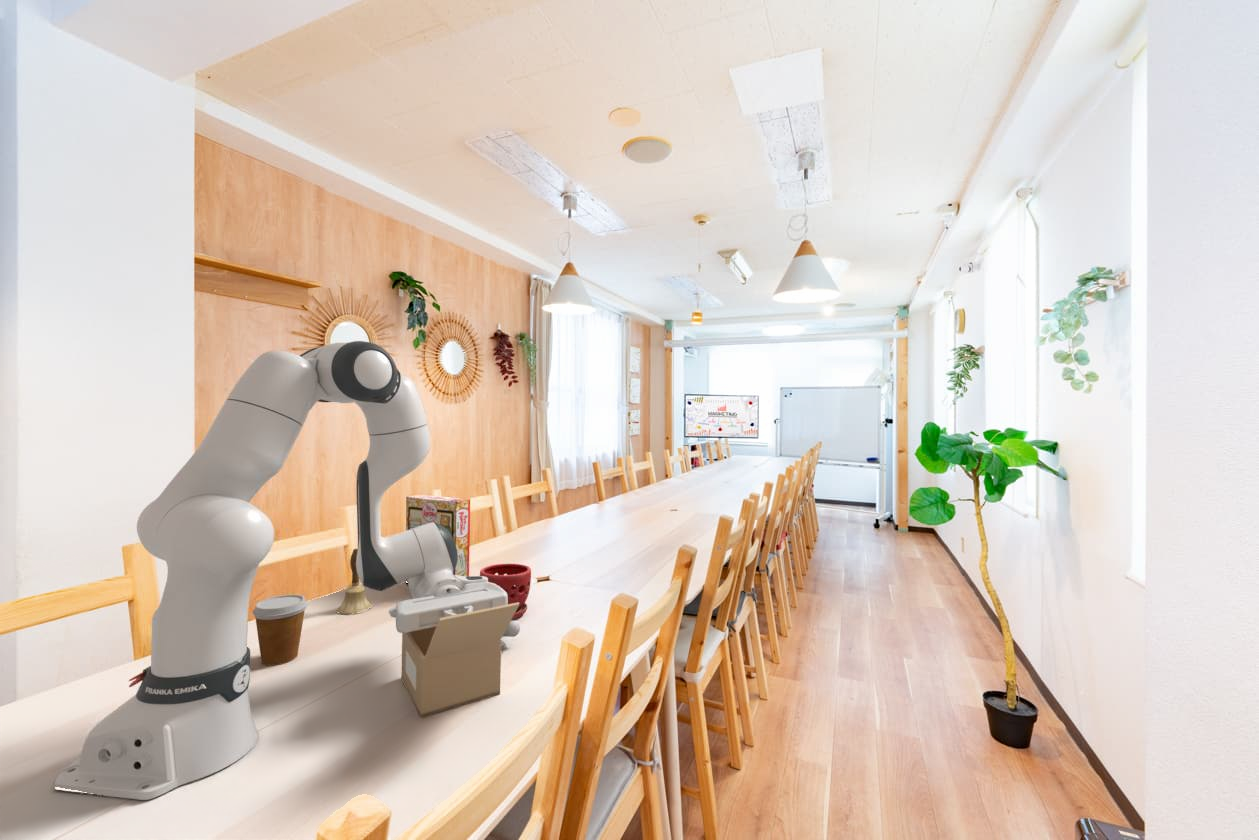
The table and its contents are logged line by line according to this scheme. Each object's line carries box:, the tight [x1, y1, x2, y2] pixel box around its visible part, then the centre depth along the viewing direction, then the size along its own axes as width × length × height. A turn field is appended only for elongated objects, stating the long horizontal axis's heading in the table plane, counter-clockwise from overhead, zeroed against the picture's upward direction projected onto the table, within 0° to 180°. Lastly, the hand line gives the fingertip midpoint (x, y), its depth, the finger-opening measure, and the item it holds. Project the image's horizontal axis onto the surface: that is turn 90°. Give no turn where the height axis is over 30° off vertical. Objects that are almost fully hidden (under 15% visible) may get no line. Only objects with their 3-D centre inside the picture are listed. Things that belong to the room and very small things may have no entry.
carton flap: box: [425, 602, 519, 660], centre depth 87 cm, size 13×13×1 cm
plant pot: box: [479, 563, 532, 620], centre depth 133 cm, size 13×13×12 cm
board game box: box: [404, 494, 471, 582], centre depth 154 cm, size 20×6×27 cm, turn 66°
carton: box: [400, 626, 502, 719], centre depth 97 cm, size 16×14×10 cm
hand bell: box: [336, 548, 372, 615], centre depth 135 cm, size 8×8×16 cm
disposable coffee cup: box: [252, 594, 309, 666], centre depth 106 cm, size 10×10×12 cm
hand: (465, 621), depth 90 cm, fingers closed
